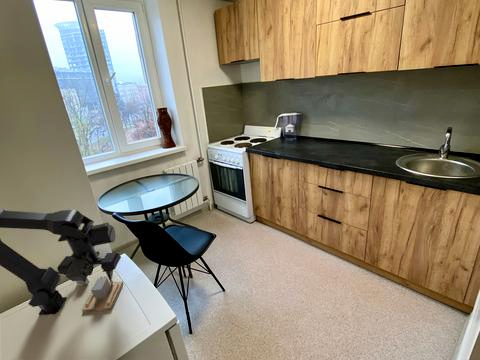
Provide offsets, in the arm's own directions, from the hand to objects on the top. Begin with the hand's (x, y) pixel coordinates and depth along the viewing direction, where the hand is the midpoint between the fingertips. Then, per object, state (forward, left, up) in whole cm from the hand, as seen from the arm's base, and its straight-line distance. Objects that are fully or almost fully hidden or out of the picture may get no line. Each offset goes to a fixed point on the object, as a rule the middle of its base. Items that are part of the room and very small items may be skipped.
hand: (98, 279), depth 89 cm
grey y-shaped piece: (-13, +7, -8) cm, 17 cm away
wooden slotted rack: (0, -1, -8) cm, 8 cm away
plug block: (0, 0, -7) cm, 7 cm away
